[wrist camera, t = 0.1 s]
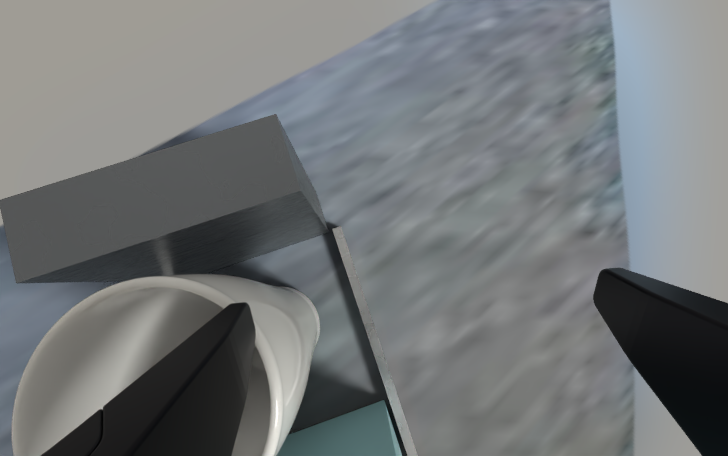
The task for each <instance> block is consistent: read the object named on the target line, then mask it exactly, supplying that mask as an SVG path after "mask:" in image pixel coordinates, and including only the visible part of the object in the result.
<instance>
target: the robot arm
mask: <svg viewBox="0 0 728 456" xmlns="http://www.w3.org/2000/svg"><path fill="white" fill-rule="evenodd" d="M593 300H594V303H595V306H596V308H597V309H598V311H599V312H600V314H601V316H602V317H603V319H604V320H605V322H606V324H607V325H608V327H609V328H610V330H611V332H612V333H613V335H614V337H615V338H616V340H617V341H618V343H619V345H620V346H621V348H622V349H623V351H624V352H625V354H626V355H627V357H628V358H629V360H630V361H631V363H632V364H633V365H634V367H635V368H636V369H637V370H638V372H639V373H640V374H641V376H642V377H643V379H644V380H645V381H646V383H647V384H648V385H649V386H650V388H651V389H652V390H653V392H654V393H655V394H656V396H657V397H658V398H659V400H660V401H661V402H662V404H663V405H664V406H665V407H666V409H667V410H668V411H669V413H670V414H671V415H672V417H673V418H674V419H675V421H676V422H677V423H678V425H679V426H680V427H681V428H682V430H683V431H684V432H685V434H686V435H687V436H688V438H689V439H690V440H691V441H692V443H693V444H694V445H695V447H696V448H697V449H698V451H699V452H700V453H701V455H702V456H728V303H725V302H722V301H719V300H716V299H713V298H710V297H707V296H704V295H701V294H698V293H695V292H692V291H689V290H686V289H683V288H680V287H677V286H674V285H671V284H668V283H665V282H662V281H659V280H656V279H653V278H650V277H646V276H644V275H641V274H638V273H635V272H632V271H629V270H626V269H623V268H609V269H603V270H602V271H601V272H600V273H599V276H598V280H597V284H596V287H595V291H594V295H593ZM255 339H256V329H255V325H254V321H253V317H252V313H251V309H250V306H249V304H248V303H246V302H241V303H231V304H229V305H228V306H227V307H225V308H224V309H223V310H222V311H220V312H219V313H218V314H217V315H216V316H214V317H213V318H212V319H211V320H209V321H208V322H207V323H206V324H204V325H203V326H202V327H201V328H199V329H198V330H197V331H196V332H195V333H193V334H192V335H191V336H190V337H188V338H187V339H186V340H185V341H183V342H182V343H181V344H180V345H178V346H177V347H176V348H175V349H173V350H172V351H171V352H170V353H169V354H167V355H166V356H165V357H164V358H162V359H161V360H160V361H159V362H157V363H156V364H155V365H154V366H152V367H151V368H150V369H149V370H148V371H146V372H145V373H144V374H143V375H141V376H140V377H139V378H138V379H136V380H135V381H134V382H133V383H131V384H130V385H129V386H128V387H126V388H125V389H124V390H123V391H122V392H120V393H119V394H118V395H117V396H115V397H114V398H113V399H112V400H110V401H109V402H108V403H107V404H105V405H104V406H103V410H102V409H99V410H98V411H97V412H95V413H94V414H93V415H92V416H90V417H89V418H88V419H87V420H86V421H84V422H83V423H82V424H81V425H79V426H78V427H77V428H75V429H74V430H73V431H72V432H70V433H69V434H68V435H67V436H65V437H64V438H63V439H61V440H60V441H59V442H58V443H56V444H55V445H54V446H52V447H51V448H50V449H49V450H47V451H46V452H45V453H43V454H42V455H40V456H232V452H233V448H234V444H235V440H236V437H237V433H238V429H239V425H240V422H241V418H242V414H243V410H244V406H245V402H246V398H247V393H248V387H249V380H250V373H251V366H252V360H253V353H254V346H255Z"/></svg>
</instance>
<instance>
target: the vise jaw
mask: <svg viewBox="0 0 728 456" xmlns="http://www.w3.org/2000/svg"><path fill="white" fill-rule="evenodd" d="M277 456H402V454H401V450H400V446H399V443H398V440H397V437H396V434H395V431H394V428H393V425H392V422H391V419H390V416H389V412H388V409H387V406H386V403H385V400H382V401H379V402H376V403H374V404H371V405H368V406H366V407H363V408H360V409H357V410H355V411H352V412H349V413H346V414H344V415H341V416H338V417H336V418H333V419H330V420H327V421H325V422H322V423H319V424H316V425H314V426H311V427H308V428H306V429H303V430H300V431H297V432H295V433H292V434H289V435H288V436H287V438H286V440H285V442H284V444H283V446H282V448H281V449H280V451H279V453H278V455H277Z"/></svg>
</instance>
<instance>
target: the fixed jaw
mask: <svg viewBox="0 0 728 456" xmlns="http://www.w3.org/2000/svg"><path fill="white" fill-rule="evenodd" d="M0 209H1V213H2V218H3V223H4V228H5V232H6V237H7V242H8V247H9V251H10V256H11V261H12V265H13V270H14V275H15V280H16V283H55V282H102V281H127V280H132V279H136V278H143V277H153V276H165V275H178V274H206V273H209V272H212V271H215V270H218V269H221V268H224V267H227V266H230V265H233V264H236V263H239V262H242V261H245V260H248V259H251V258H254V257H257V256H260V255H263V254H266V253H269V252H272V251H275V250H278V249H281V248H284V247H287V246H290V245H293V244H296V243H299V242H302V241H304V240H307V239H310V238H313V237H316V236H319V235H322V234H325V233H328V232H329V230H328V227H327V224H326V221H325V218H324V215H323V212H322V209H321V206H320V203H319V200H318V197H317V194H316V191H315V189H314V187H313V186H312V184H311V182H310V180H309V178H308V176H307V174H306V172H305V170H304V168H303V166H302V164H301V162H300V160H299V158H298V156H297V154H296V152H295V150H294V148H293V146H292V144H291V142H290V140H289V138H288V136H287V135H286V133H285V131H284V129H283V127H282V125H281V123H280V121H279V119H278V117H277V115H276V114H274V115H271V116H268V117H265V118H261V119H258V120H255V121H252V122H249V123H245V124H242V125H239V126H236V127H233V128H229V129H226V130H223V131H220V132H217V133H213V134H210V135H207V136H204V137H201V138H197V139H194V140H191V141H188V142H184V143H181V144H178V145H175V146H172V147H168V148H165V149H162V150H159V151H156V152H152V153H149V154H146V155H143V156H140V157H136V158H133V159H130V160H127V161H124V162H121V163H117V164H114V165H111V166H108V167H105V168H101V169H98V170H95V171H91V172H88V173H85V174H82V175H79V176H76V177H72V178H69V179H66V180H63V181H59V182H56V183H53V184H50V185H47V186H43V187H40V188H37V189H34V190H31V191H27V192H24V193H21V194H18V195H15V196H11V197H8V198H5V199H2V200H0ZM332 230H333V233H334V236H335V239H336V242H337V245H338V248H339V251H340V254H341V257H342V260H343V263H344V266H345V269H346V272H347V275H348V278H349V281H350V284H351V287H352V290H353V293H354V296H355V299H356V302H357V305H358V308H359V311H360V314H361V317H362V320H363V323H364V326H365V329H366V332H367V335H368V338H369V341H370V344H371V347H372V350H373V353H374V356H375V359H376V362H377V365H378V369H379V372H380V375H381V378H382V381H383V384H384V387H385V390H386V393H387V396H388V399H389V402H390V405H391V408H392V411H393V414H394V417H395V420H396V423H397V426H398V429H399V432H400V435H401V438H402V441H403V444H404V447H405V450H406V453H407V456H418V454H417V452H416V449H415V446H414V443H413V440H412V437H411V434H410V431H409V428H408V425H407V422H406V419H405V416H404V413H403V410H402V407H401V404H400V401H399V398H398V395H397V392H396V389H395V386H394V383H393V380H392V377H391V374H390V371H389V368H388V365H387V362H386V359H385V356H384V353H383V350H382V347H381V344H380V341H379V338H378V335H377V332H376V329H375V326H374V323H373V320H372V317H371V314H370V311H369V308H368V306H367V303H366V300H365V297H364V294H363V291H362V288H361V285H360V282H359V279H358V276H357V273H356V270H355V267H354V264H353V261H352V258H351V255H350V252H349V249H348V246H347V243H346V240H345V237H344V234H343V231H342V228H341V226H340V227H337V228H334V229H332Z"/></svg>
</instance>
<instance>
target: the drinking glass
mask: <svg viewBox="0 0 728 456" xmlns="http://www.w3.org/2000/svg"><path fill="white" fill-rule="evenodd" d="M241 302H246V303H248V304H249V306H250V309H251V313H252V317H253V321H254V325H255V329H256V339H255V346H254V353H253V360H252V366H251V373H250V380H249V387H248V393H247V398H246V402H245V406H244V410H243V414H242V418H241V422H240V425H239V429H238V433H237V437H236V440H235V444H234V448H233V452H232V456H277V455H278V453H279V451H280V449H281V448H282V446H283V444H284V442H285V440H286V438H287V436H288V434H289V431H290V429H291V427H292V425H293V423H294V421H295V418H296V416H297V413H298V411H299V408H300V405H301V403H302V400H303V397H304V393H305V390H306V386H307V382H308V377H309V372H310V367H311V362H312V357H313V353H314V349H315V347H316V345H317V342H318V339H319V334H320V321H319V316H318V313H317V310H316V308H315V306H314V305H313V303H312V302H311V301H310V299H309V298H308V297H307V296H305V295H304V294H303V293H301V292H300V291H298V290H296V289H293V288H290V287H284V286H273V285H269V284H266V283H262V282H258V281H255V280H251V279H247V278H243V277H237V276H230V275H222V274H178V275H165V276H153V277H143V278H136V279H132V280H127V281H123V282H120V283H117V284H114V285H112V286H109V287H107V288H105V289H102V290H100V291H98V292H96V293H94V294H93V295H91V296H89V297H87V298H86V299H84V300H83V301H81V302H80V303H78V304H77V305H75V306H74V307H73V308H72V309H70V310H69V311H68V312H67V313H66V314H64V315H63V316H62V317H61V318H60V319H59V320H58V321H57V322H56V323H55V324H54V325H53V326H52V328H51V329H50V330H49V331H48V332H47V334H46V335H45V336H44V337H43V339H42V340H41V342H40V343H39V344H38V346H37V347H36V349H35V351H34V353H33V354H32V356H31V358H30V360H29V362H28V364H27V366H26V368H25V370H24V372H23V375H22V378H21V380H20V383H19V386H18V390H17V394H16V397H15V402H14V408H13V415H12V447H13V455H14V456H40V455H42V454H43V453H45V452H46V451H47V450H49V449H50V448H51V447H52V446H54V445H55V444H56V443H58V442H59V441H60V440H61V439H63V438H64V437H65V436H67V435H68V434H69V433H70V432H72V431H73V430H74V429H75V428H77V427H78V426H79V425H81V424H82V423H83V422H84V421H86V420H87V419H88V418H89V417H90V416H92V415H93V414H94V413H95V412H97V411H98V410H99V409H102V410H103V406H104V405H105V404H107V403H108V402H109V401H110V400H112V399H113V398H114V397H115V396H117V395H118V394H119V393H120V392H122V391H123V390H124V389H125V388H126V387H128V386H129V385H130V384H131V383H133V382H134V381H135V380H136V379H138V378H139V377H140V376H141V375H143V374H144V373H145V372H146V371H148V370H149V369H150V368H151V367H152V366H154V365H155V364H156V363H157V362H159V361H160V360H161V359H162V358H164V357H165V356H166V355H167V354H169V353H170V352H171V351H172V350H173V349H175V348H176V347H177V346H178V345H180V344H181V343H182V342H183V341H185V340H186V339H187V338H188V337H190V336H191V335H192V334H193V333H195V332H196V331H197V330H198V329H199V328H201V327H202V326H203V325H204V324H206V323H207V322H208V321H209V320H211V319H212V318H213V317H214V316H216V315H217V314H218V313H219V312H220V311H222V310H223V309H224V308H225V307H227V306H228V305H229V304H231V303H241Z"/></svg>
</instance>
